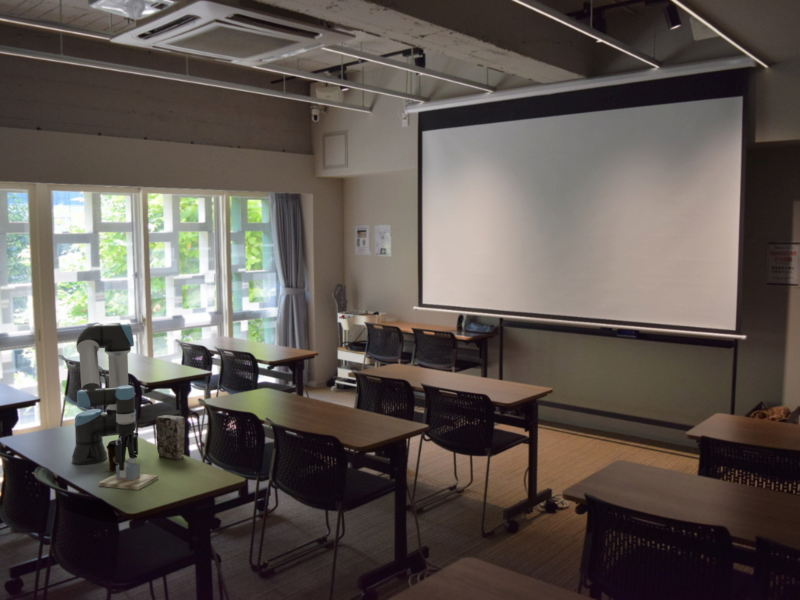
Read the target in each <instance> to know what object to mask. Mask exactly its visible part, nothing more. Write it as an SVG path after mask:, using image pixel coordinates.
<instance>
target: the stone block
mask: <svg viewBox="0 0 800 600" xmlns="http://www.w3.org/2000/svg"><path fill="white" fill-rule="evenodd" d="M185 420H186V419H185V417H184V416H181V415H172V414H171V415H169V414H165V415H160V416H157V417H156V419H155V430H156V436H155V439H156V449H157V450H156V451H157V453H158V457H159V458H162V459H163V458H164V459H171V460H181V459H183V458H184V457H185V427H186V425H185V423H186V421H185ZM182 455H183V456H182ZM182 457H183V458H182Z"/></svg>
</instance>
